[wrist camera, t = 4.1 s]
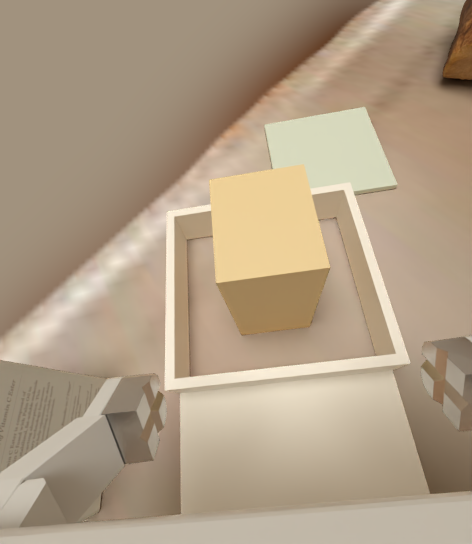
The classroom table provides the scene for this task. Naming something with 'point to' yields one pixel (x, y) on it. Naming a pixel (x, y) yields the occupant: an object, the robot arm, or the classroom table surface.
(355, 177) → the sage mat
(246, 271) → the block
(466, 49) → the decorative rock
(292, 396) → the box
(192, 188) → the classroom table surface
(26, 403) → the small box
